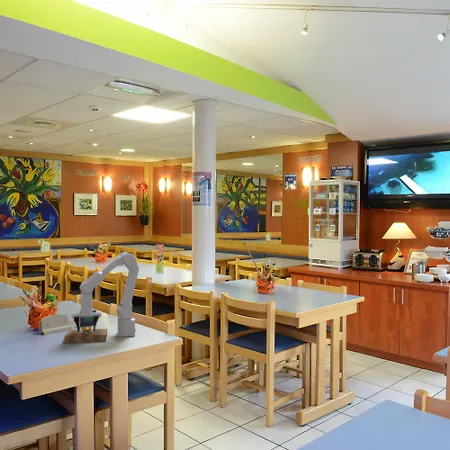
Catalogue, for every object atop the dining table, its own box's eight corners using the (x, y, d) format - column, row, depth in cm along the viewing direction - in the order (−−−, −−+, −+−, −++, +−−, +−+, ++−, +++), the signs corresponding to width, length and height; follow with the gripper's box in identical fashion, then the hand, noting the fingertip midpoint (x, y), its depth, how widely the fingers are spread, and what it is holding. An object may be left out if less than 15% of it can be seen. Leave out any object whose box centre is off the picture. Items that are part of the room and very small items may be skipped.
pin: (92, 338, 236) (92, 326, 236) (89, 340, 232) (89, 329, 232) (83, 338, 236) (83, 326, 236) (80, 340, 232) (80, 328, 232)
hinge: (43, 335, 241) (40, 316, 243) (39, 336, 244) (36, 318, 246) (72, 329, 254) (69, 311, 256) (68, 330, 257) (65, 313, 259)
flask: (96, 324, 266) (96, 306, 265) (96, 325, 263) (96, 307, 263) (79, 325, 262) (79, 307, 262) (80, 326, 260) (80, 308, 259)
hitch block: (107, 335, 242) (107, 328, 242) (105, 341, 231) (105, 334, 231) (67, 336, 239) (67, 330, 238) (64, 343, 227) (64, 336, 227)
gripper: (101, 303, 239) (101, 328, 240) (72, 303, 237) (72, 329, 237) (100, 305, 232) (100, 332, 233) (70, 306, 230) (71, 333, 230)
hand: (86, 331), depth 234 cm, fingers open, 7 cm apart
